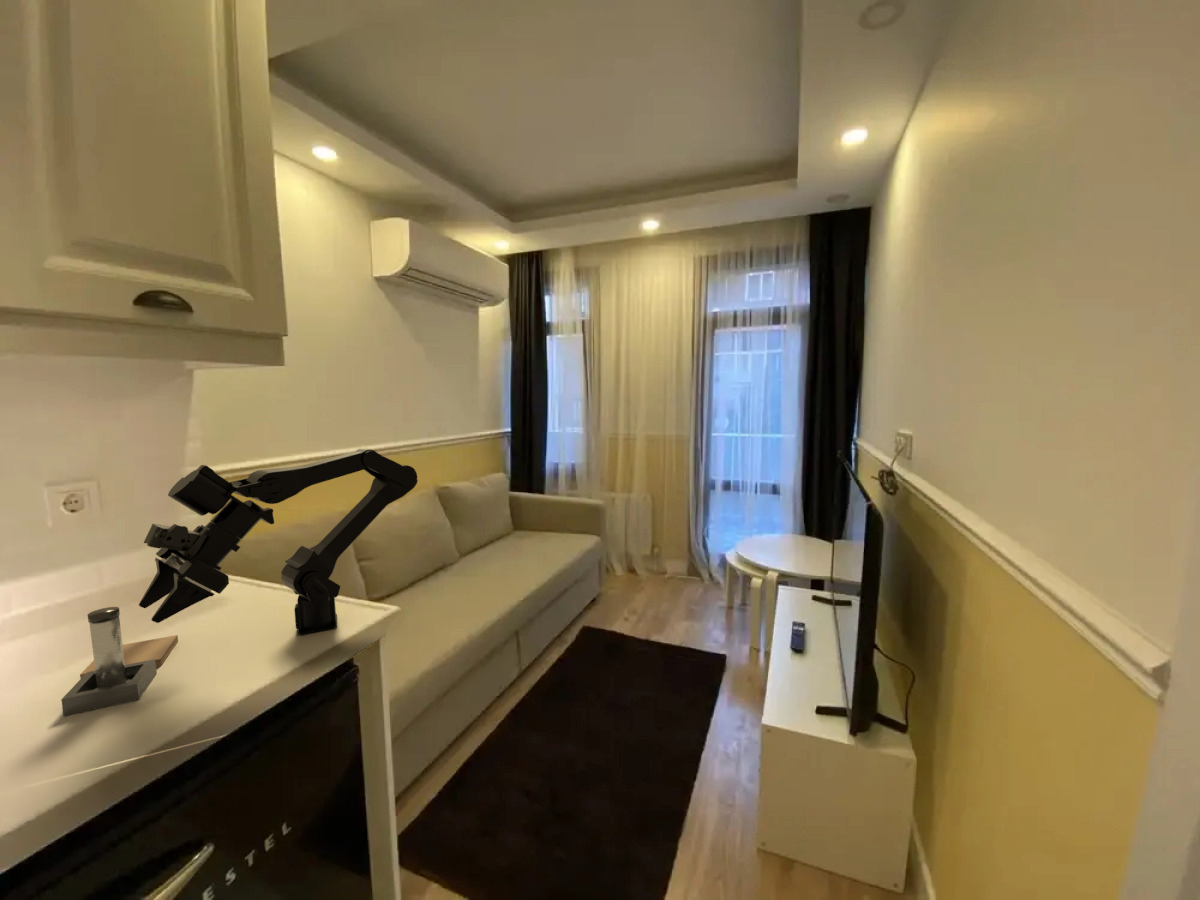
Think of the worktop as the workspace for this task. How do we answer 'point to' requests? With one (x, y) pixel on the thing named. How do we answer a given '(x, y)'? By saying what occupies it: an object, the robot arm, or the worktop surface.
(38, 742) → the worktop surface
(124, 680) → the capped metal cylinder
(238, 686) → the worktop surface
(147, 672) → the holder
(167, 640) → the walnut pad
